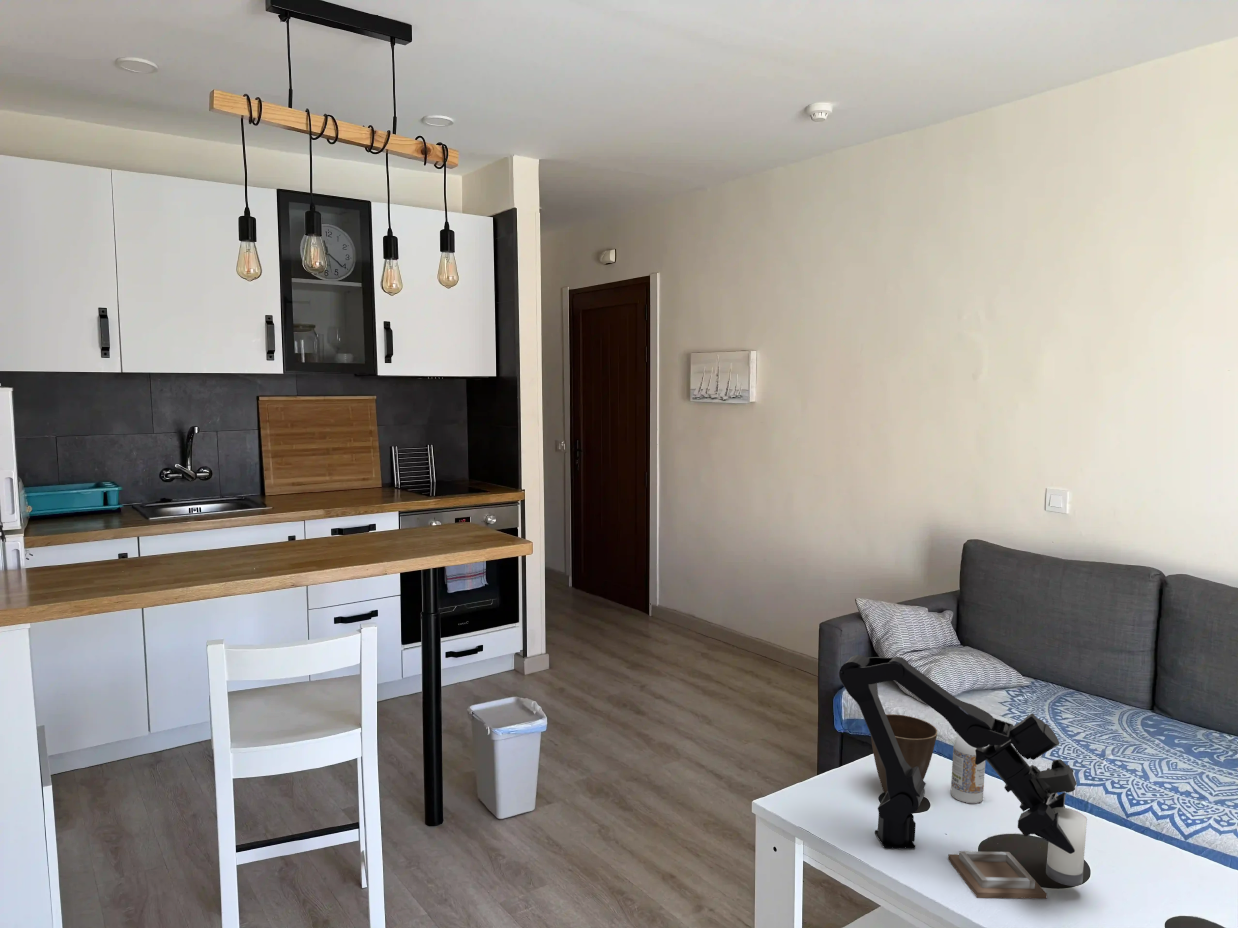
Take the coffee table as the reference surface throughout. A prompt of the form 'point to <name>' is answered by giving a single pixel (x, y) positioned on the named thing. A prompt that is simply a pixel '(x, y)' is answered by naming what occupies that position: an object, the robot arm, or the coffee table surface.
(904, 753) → the plant pot
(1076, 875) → the white cylinder
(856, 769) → the coffee table surface
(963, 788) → the bath foam
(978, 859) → the walnut board
